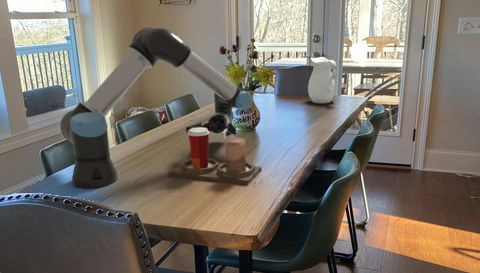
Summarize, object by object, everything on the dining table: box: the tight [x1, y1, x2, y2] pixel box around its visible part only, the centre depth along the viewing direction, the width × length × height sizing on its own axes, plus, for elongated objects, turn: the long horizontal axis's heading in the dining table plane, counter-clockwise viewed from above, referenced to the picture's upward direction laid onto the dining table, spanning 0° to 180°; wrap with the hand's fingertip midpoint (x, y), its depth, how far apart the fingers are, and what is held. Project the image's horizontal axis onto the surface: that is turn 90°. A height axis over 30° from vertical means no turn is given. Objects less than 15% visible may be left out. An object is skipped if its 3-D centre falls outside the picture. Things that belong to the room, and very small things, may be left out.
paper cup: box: [187, 127, 210, 169], centre depth 161 cm, size 8×8×14 cm
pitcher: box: [307, 56, 338, 104], centre depth 278 cm, size 24×17×28 cm
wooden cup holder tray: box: [168, 137, 262, 186], centre depth 160 cm, size 15×30×13 cm, turn 69°
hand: (205, 135), depth 169 cm, fingers open, 13 cm apart
